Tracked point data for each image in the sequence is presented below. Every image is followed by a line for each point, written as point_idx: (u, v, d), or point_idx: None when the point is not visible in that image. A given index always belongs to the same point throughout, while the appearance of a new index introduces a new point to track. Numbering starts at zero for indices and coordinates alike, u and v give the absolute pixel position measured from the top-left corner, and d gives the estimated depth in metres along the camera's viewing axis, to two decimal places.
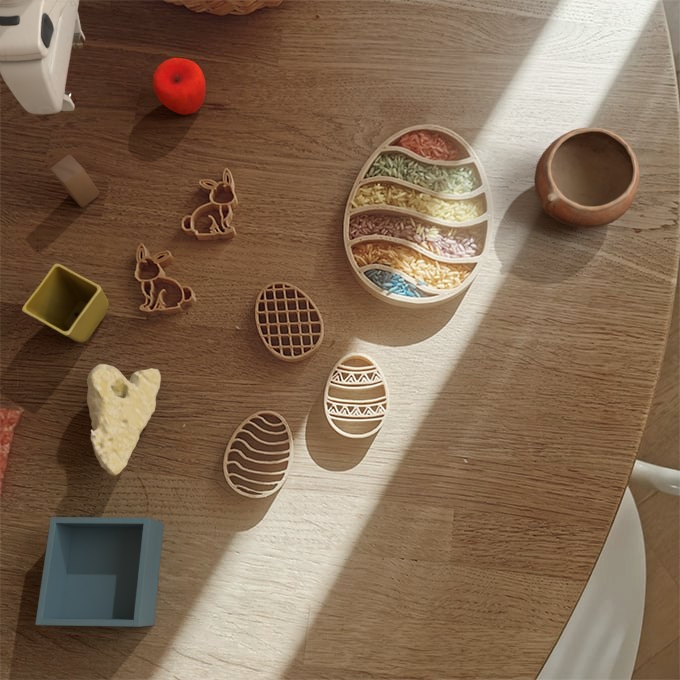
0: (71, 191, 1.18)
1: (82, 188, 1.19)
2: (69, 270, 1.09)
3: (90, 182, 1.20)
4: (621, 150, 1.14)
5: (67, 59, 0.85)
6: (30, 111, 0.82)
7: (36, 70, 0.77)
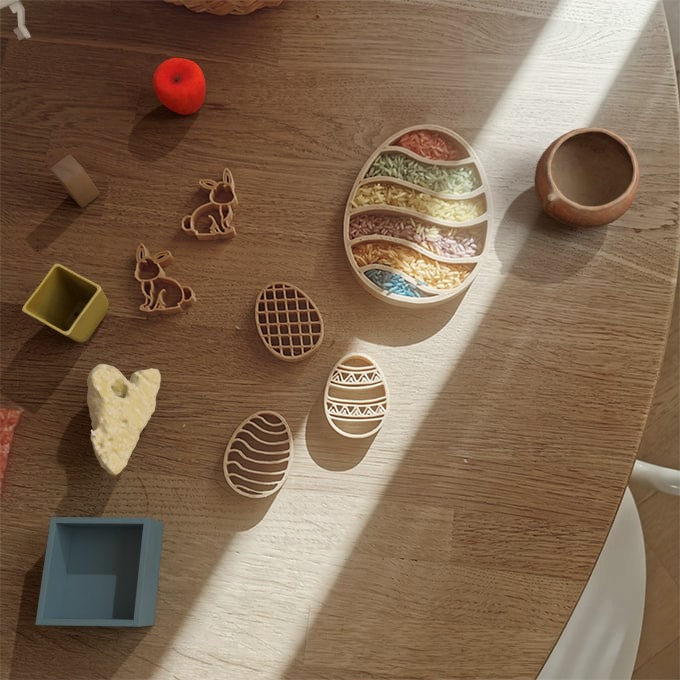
0: (71, 191, 1.18)
1: (82, 188, 1.19)
2: (69, 270, 1.09)
3: (90, 182, 1.20)
4: (621, 150, 1.14)
5: None
6: None
7: None
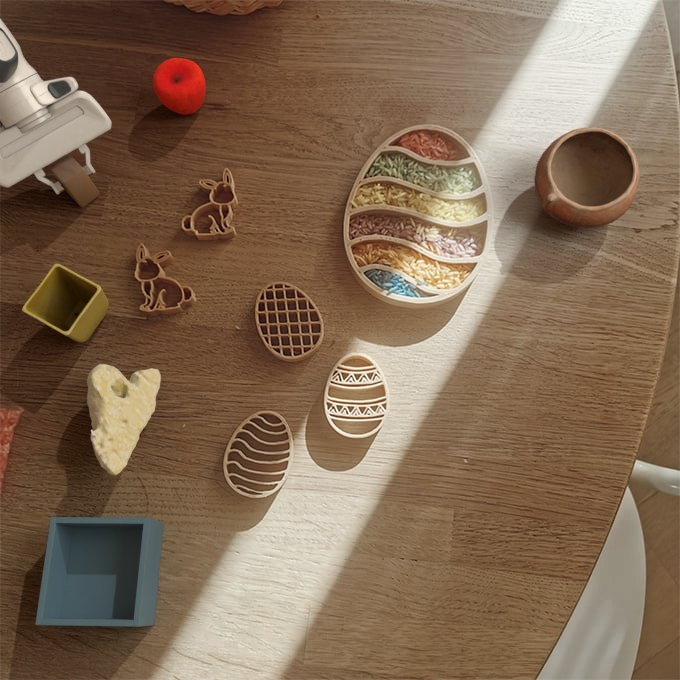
0: (71, 191, 1.18)
1: (82, 188, 1.19)
2: (69, 270, 1.09)
3: (90, 182, 1.20)
4: (621, 150, 1.14)
5: None
6: None
7: None
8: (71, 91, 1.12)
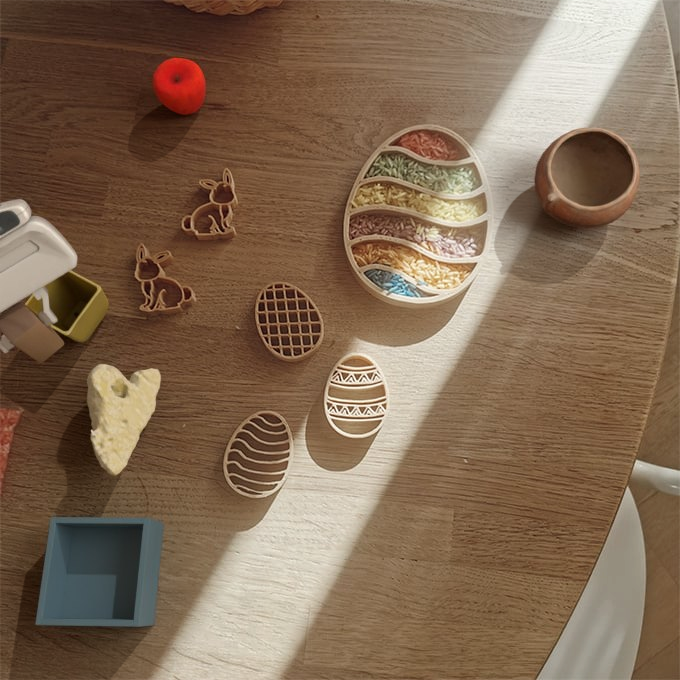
0: (24, 349, 0.88)
1: (39, 343, 0.89)
2: None
3: (50, 334, 0.90)
4: (621, 150, 1.14)
5: None
6: (75, 254, 0.87)
7: (40, 217, 0.88)
8: (20, 224, 0.83)
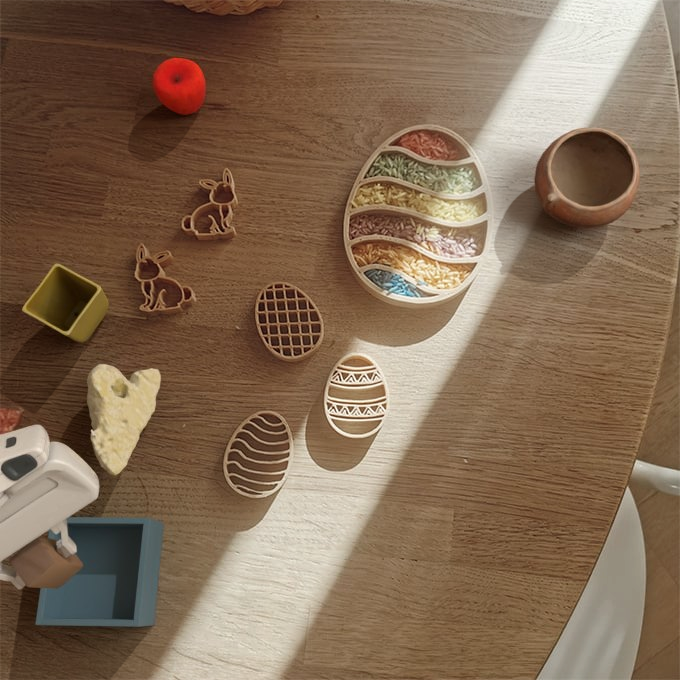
0: (40, 587, 0.81)
1: (57, 576, 0.82)
2: (69, 270, 1.09)
3: (68, 566, 0.82)
4: (621, 150, 1.14)
5: None
6: (96, 485, 0.80)
7: (59, 444, 0.80)
8: (37, 466, 0.75)
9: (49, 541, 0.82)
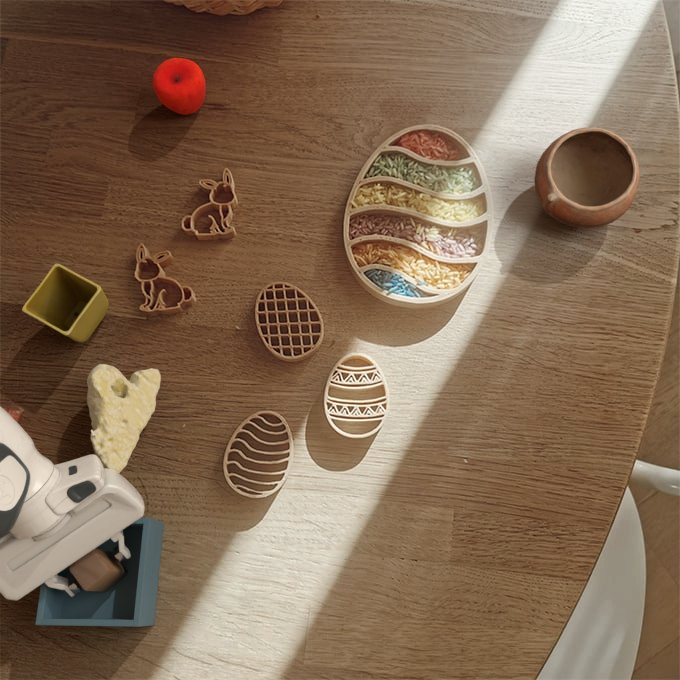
0: (94, 590, 0.96)
1: (107, 581, 0.97)
2: (69, 270, 1.09)
3: (117, 573, 0.97)
4: (621, 150, 1.14)
5: None
6: (142, 505, 0.95)
7: (111, 470, 0.95)
8: (96, 491, 0.90)
9: (101, 552, 0.97)
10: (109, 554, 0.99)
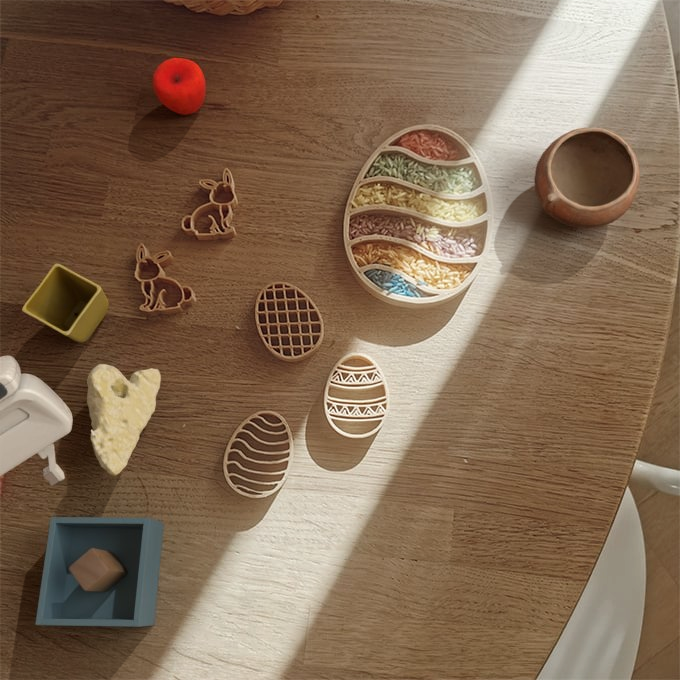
0: (94, 590, 0.96)
1: (107, 581, 0.97)
2: (69, 270, 1.09)
3: (117, 573, 0.97)
4: (621, 150, 1.14)
5: None
6: (69, 418, 0.78)
7: (30, 376, 0.78)
8: (7, 395, 0.73)
9: (101, 552, 0.97)
10: (109, 554, 0.99)
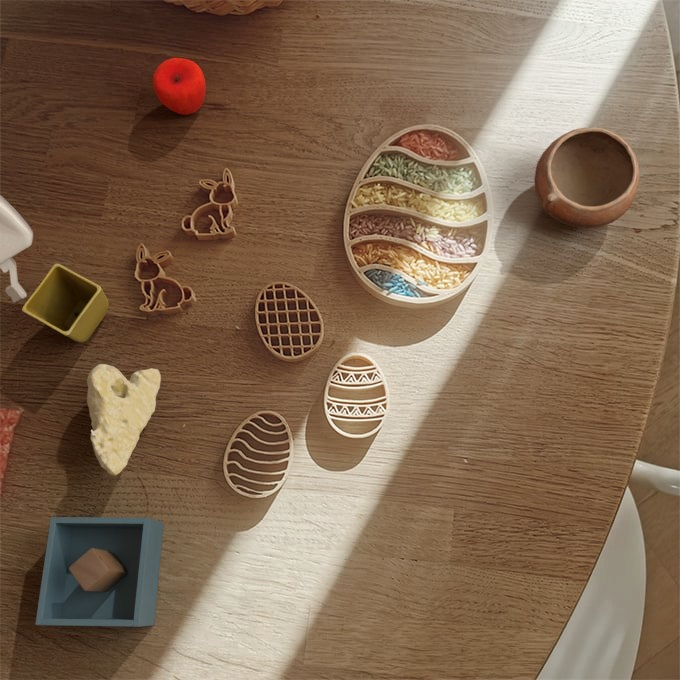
0: (94, 590, 0.96)
1: (107, 581, 0.97)
2: (69, 270, 1.09)
3: (117, 573, 0.97)
4: (621, 150, 1.14)
5: None
6: (29, 231, 0.80)
7: None
8: None
9: (101, 552, 0.97)
10: (109, 554, 0.99)
